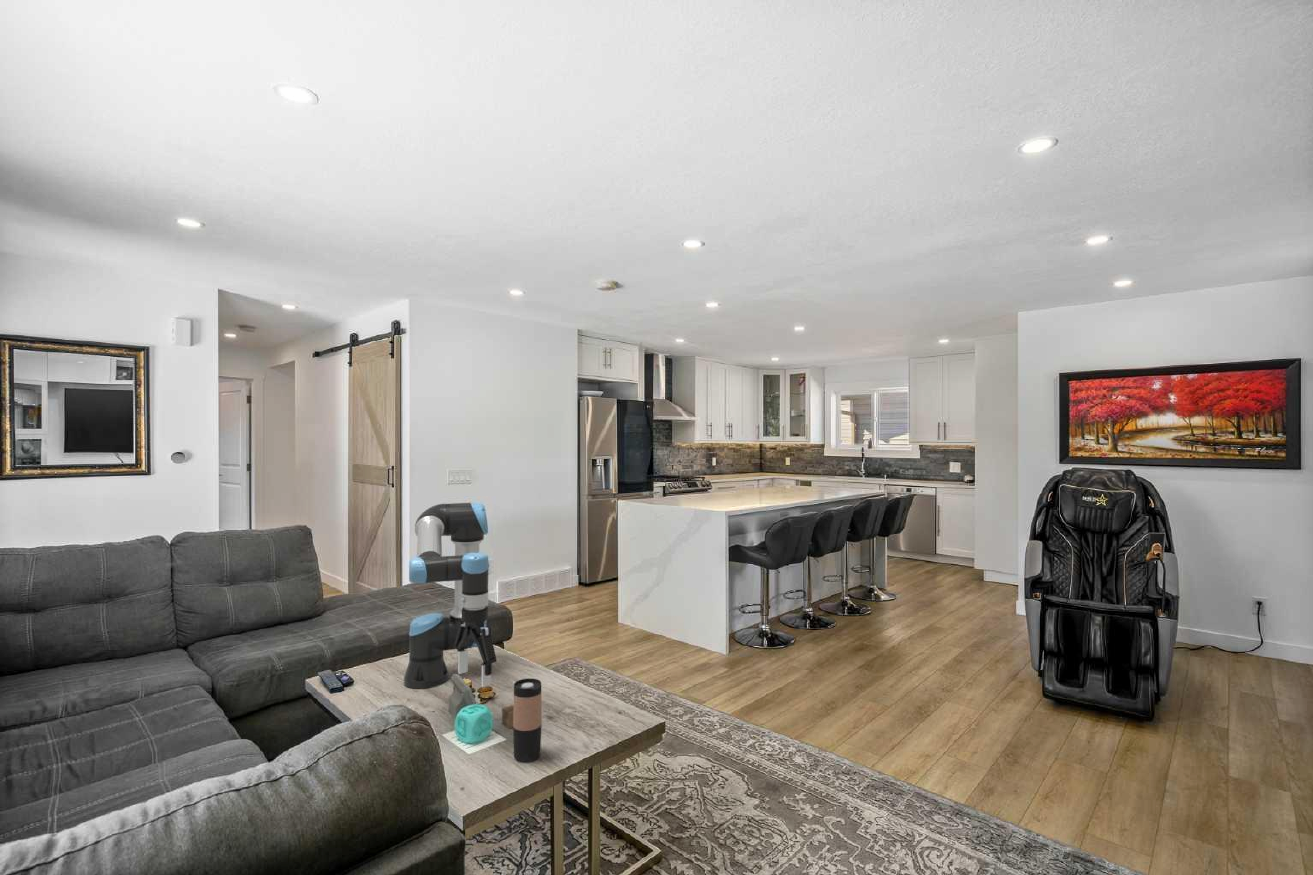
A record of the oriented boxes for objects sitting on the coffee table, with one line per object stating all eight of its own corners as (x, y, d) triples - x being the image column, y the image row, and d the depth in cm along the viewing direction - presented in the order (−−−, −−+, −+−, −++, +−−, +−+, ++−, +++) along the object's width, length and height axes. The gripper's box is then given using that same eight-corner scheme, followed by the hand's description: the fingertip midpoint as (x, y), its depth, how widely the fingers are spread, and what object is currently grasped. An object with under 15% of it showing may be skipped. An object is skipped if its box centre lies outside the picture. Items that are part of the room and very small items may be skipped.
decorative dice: (493, 735, 181) (493, 708, 181) (472, 746, 175) (472, 718, 175) (475, 728, 186) (475, 701, 186) (453, 738, 179) (453, 711, 179)
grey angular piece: (481, 720, 191) (481, 686, 192) (450, 725, 188) (451, 690, 188) (476, 700, 206) (476, 669, 207) (447, 704, 203) (448, 672, 203)
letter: (441, 735, 181) (441, 734, 181) (478, 722, 190) (478, 721, 190) (468, 754, 170) (468, 753, 170) (506, 740, 179) (506, 739, 179)
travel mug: (515, 749, 173) (515, 678, 174) (542, 748, 174) (543, 677, 174) (511, 763, 166) (511, 689, 166) (539, 762, 166) (540, 688, 167)
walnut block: (502, 724, 189) (502, 707, 189) (517, 719, 192) (517, 703, 192) (508, 730, 185) (508, 713, 185) (523, 725, 188) (524, 709, 188)
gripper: (442, 600, 187) (442, 670, 187) (485, 618, 169) (484, 695, 169) (465, 596, 192) (464, 664, 192) (509, 613, 175) (508, 687, 175)
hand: (474, 679), depth 181 cm, fingers open, 13 cm apart
